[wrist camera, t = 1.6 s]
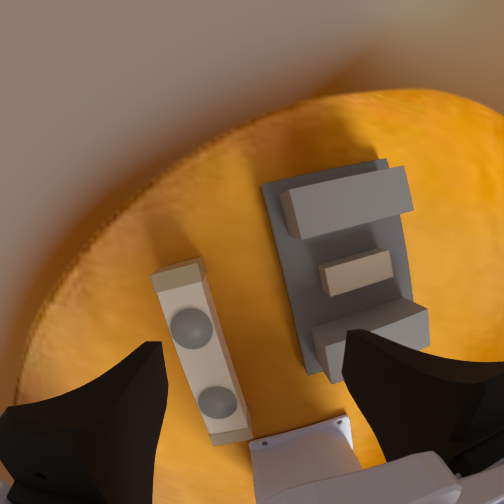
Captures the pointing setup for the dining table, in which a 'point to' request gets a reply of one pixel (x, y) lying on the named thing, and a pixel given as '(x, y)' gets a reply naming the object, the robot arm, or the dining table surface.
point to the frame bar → (203, 349)
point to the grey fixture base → (345, 259)
